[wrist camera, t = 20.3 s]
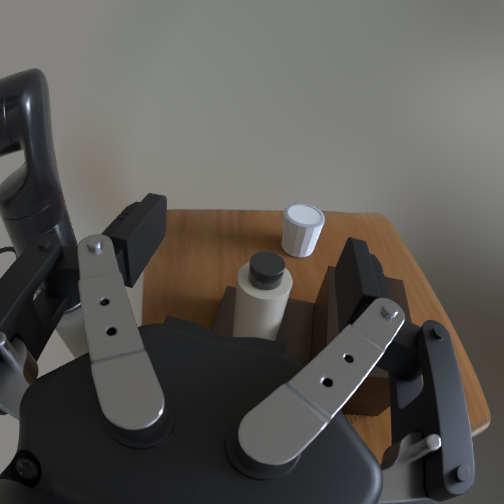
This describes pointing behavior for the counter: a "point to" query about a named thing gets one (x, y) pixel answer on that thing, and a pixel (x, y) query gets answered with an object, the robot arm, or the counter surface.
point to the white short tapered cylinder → (301, 229)
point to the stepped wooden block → (322, 337)
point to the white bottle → (261, 296)
